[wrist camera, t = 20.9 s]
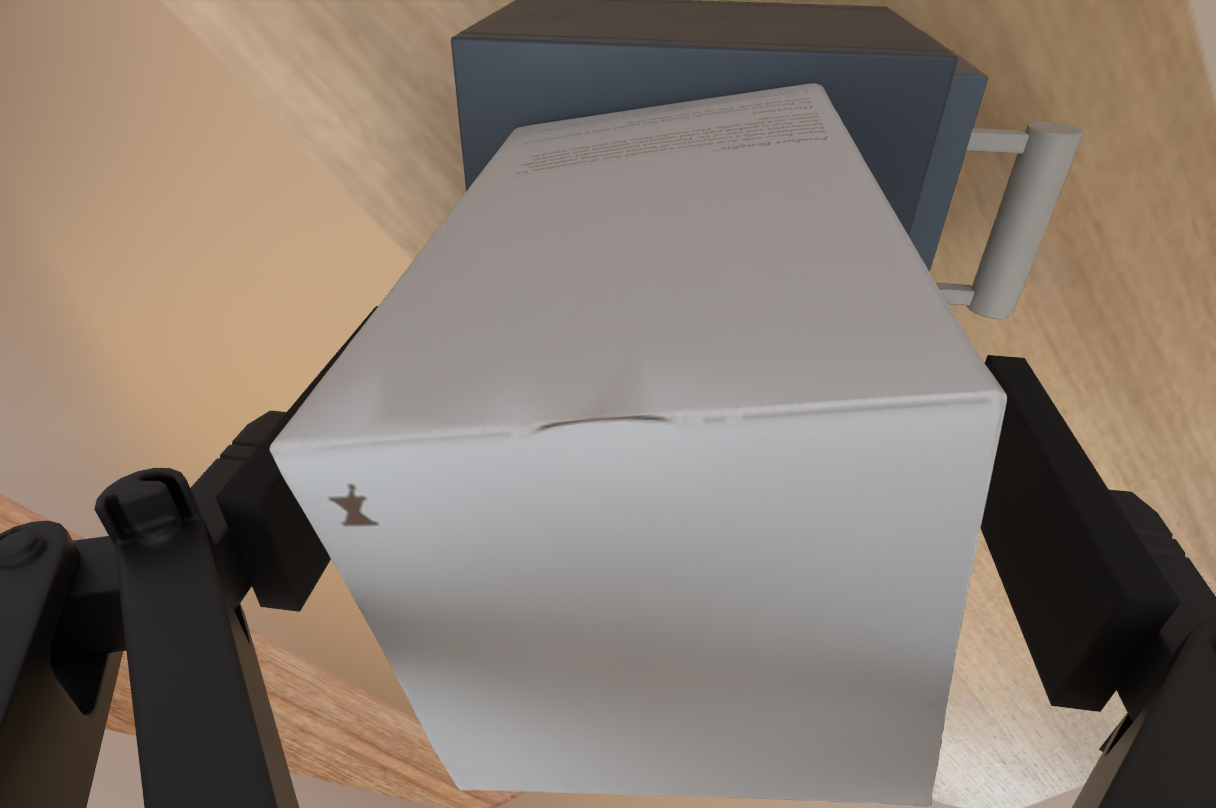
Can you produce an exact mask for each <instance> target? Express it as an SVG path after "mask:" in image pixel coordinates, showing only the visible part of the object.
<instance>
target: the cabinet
mask: <svg viewBox="0 0 1216 808" xmlns="http://www.w3.org/2000/svg"><path fill="white" fill-rule="evenodd" d="M451 46H452V56H453V66H454V75H455V85H456V95H457V105H458V115H459V124H460V134H461V144H462V154H463V164H464V174H465V183H466V192H467V190H468V189H469V188H470V186H471V185H472V184H473V182H474V181H475V180H476V178H477V177H478V176H479V175H480V173H481V172H482V171H483V169H484V168H485V167H486V165H487V164H488V163H489V162H490V160H491V159H492V158H493V157H494V155H495V154H496V153H497V152H498V150H499V149H500V148H501V146H502V145H503V144H504V142H505V141H506V140H507V138H508V137H509V136H510V134H511V133H512V132H513V130H515V129H516V128H519V127H523V126H528V125H535V124H541V123H548V122H554V121H561V120H567V119H574V118H581V117H587V116H594V115H601V114H607V113H614V112H621V111H627V110H634V109H641V108H647V107H654V106H660V105H667V104H674V103H680V102H687V101H694V100H701V99H708V98H715V97H721V96H728V95H735V94H742V93H749V92H756V91H762V90H769V89H776V88H782V87H789V86H796V85H804V84H811V83H816V84H819V85H821V86H822V87H823V88H824V90H825V92H826V93H827V95H828V97H829V99H830V101H831V103H832V105H833V107H834V109H835V110H836V112H837V113H838V115H839V117H840V119H841V121H842V123H843V124H844V126H845V127H846V129H847V131H848V133H849V134H850V136H851V138H852V140H853V141H854V143H855V145H856V146H857V148H858V150H859V152H860V154H861V155H862V157H863V159H864V161H865V163H866V164H867V166H868V168H869V169H870V171H871V173H872V174H873V176H874V178H875V180H876V181H877V183H878V185H879V186H880V188H881V190H882V192H883V194H884V195H885V197H886V199H887V200H888V202H889V204H890V205H891V207H892V209H893V211H894V212H895V214H896V216H897V217H898V219H899V221H900V222H901V224H902V226H903V227H904V229H905V231H906V233H907V234H908V236H909V235H910V232H911V228H912V224H913V221H914V217H915V214H916V210H917V206H918V203H919V199H920V195H921V192H922V188H923V184H924V181H925V177H926V174H927V170H928V166H929V163H930V159H931V155H932V152H933V148H934V145H935V141H936V137H937V134H938V130H939V126H940V123H941V119H942V115H943V112H944V108H945V105H946V101H947V97H948V94H949V90H950V86H951V83H952V79H953V76H954V72H955V68H956V65H957V61H958V58H957V56H955V55H954V54H952V53H951V52H950V51H949V50H947V49H946V48H945V47H943V46H942V45H940V44H939V43H937V42H936V41H935V40H933V39H932V38H930V37H929V36H927V35H926V34H925V33H923V32H922V31H920V30H919V29H917V28H916V27H915V26H913V25H912V24H910V23H909V22H907V21H906V20H905V19H903V18H902V17H900V16H899V15H897V14H896V13H895V12H893V11H892V10H890V9H889V8H887V7H873V6H842V5H812V4H781V3H750V2H720V1H689V0H516V1H514V2H512V3H510V4H509V5H507V6H505V7H503V8H502V9H500V10H498V11H496V12H495V13H493V14H491V15H489V16H488V17H486V18H484V19H482V20H481V21H479V22H477V23H475V24H474V25H472V26H470V27H468V28H467V29H465V30H463V31H462V32H460V33H459V34H457V35H455V36H454V37H452V38H451Z"/></svg>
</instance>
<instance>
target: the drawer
mask: <svg viewBox="0 0 1216 808" xmlns="http://www.w3.org/2000/svg"><path fill="white" fill-rule="evenodd" d="M920 31H922V30H920ZM922 32H923V31H922ZM923 33H925V32H923ZM925 34H926V33H925ZM926 35H927V36H929V35H928V34H926ZM929 37H930V38H932V37H931V36H929ZM932 39H933V38H932ZM933 40H935V39H933ZM935 41H936V40H935ZM936 42H937V43H939V42H938V41H936ZM939 44H940V45H942V44H941V43H939ZM942 46H943V45H942ZM943 47H945V46H943ZM945 48H946V47H945ZM946 49H947V50H949V49H948V48H946ZM949 51H950V52H951V53H952V54H954V55H955V56H957V58H958V61H957V65H956V68H955V72H954V76H953V79H952V83H951V86H950V90H949V94H948V97H947V101H946V105H945V108H944V112H943V115H942V119H941V123H940V126H939V130H938V134H937V137H936V141H935V145H934V148H933V152H932V155H931V159H930V163H929V166H928V170H927V174H926V177H925V181H924V184H923V188H922V192H921V195H920V199H919V203H918V206H917V210H916V214H915V217H914V221H913V224H912V228H911V232H910V235H909V238H910V240H911V241H912V243H913V245H914V247H915V248H916V250H917V252H918V253H919V255H920V257H921V259H922V260H923V262H924V264H925V266H926V267H927V269H928V271H929V272H930V269H931V266H932V262H933V259H934V256H935V253H936V249H937V246H938V243H939V239H940V236H941V233H942V229H943V226H944V223H945V219H946V216H947V213H948V210H949V206H950V203H951V200H952V196H953V193H954V190H955V186H956V183H957V180H958V176H959V173H960V170H961V166H962V163H963V160H964V157H965V153H966V151H977V152H998V153H1018V154H1017V157H1016V160H1015V163H1014V166H1013V169H1012V172H1011V175H1010V178H1009V180H1008V183H1007V186H1006V189H1005V192H1004V195H1003V198H1002V201H1001V204H1000V207H999V209H998V212H997V215H996V218H995V221H994V224H993V227H992V230H991V233H990V236H989V239H988V241H987V244H986V247H985V250H984V253H983V256H982V259H981V262H980V265H979V268H978V271H977V273H976V276H975V279H974V282H973V285H972V287H971V286H970V285H960V284H945V283H936V285H937V286H938V288H939V290H940V291H941V293H942V295H943V296H944V298H945V300H946V301H947V303H948V304H952V305H967V307H968V308H969V309H970V310H971V311H972V312H974V313H976V314H978V315H980V316H984V317H987V318H993V319H1004V318H1008V317H1010V316H1011V315H1012V314H1013V312H1014V310H1015V307H1016V305H1017V302H1018V299H1019V297H1020V294H1021V292H1022V289H1023V287H1024V284H1025V281H1026V279H1027V276H1028V274H1029V271H1030V269H1031V266H1032V264H1033V261H1034V258H1035V256H1036V253H1037V251H1038V248H1039V246H1040V243H1041V240H1042V238H1043V235H1044V233H1045V230H1046V228H1047V225H1048V223H1049V220H1050V217H1051V215H1052V212H1053V210H1054V207H1055V205H1056V202H1057V199H1058V197H1059V194H1060V192H1061V189H1062V187H1063V184H1064V182H1065V179H1066V176H1067V174H1068V171H1069V169H1070V166H1071V164H1072V161H1073V159H1074V156H1075V153H1076V151H1077V148H1078V146H1079V143H1080V141H1081V138H1082V135H1083V130H1082V129H1080V128H1078V127H1076V126H1073V125H1070V124H1065V123H1060V122H1051V121H1037V122H1031V123H1029V124H1028V126H1027V128H1026V131H1025V132H1024V131H1023V130H1003V129H981V128H973V127H974V123H975V120H976V117H977V114H978V110H979V107H980V104H981V100H982V97H983V94H984V90H985V87H986V84H987V80H988V76H987V75H985V74H984V73H982V72H981V71H979V70H978V69H977V68H975V67H974V66H972V65H971V64H969V63H968V62H967V61H965V60H964V59H962V58H961V57H959V56H958V55H956V54H955V53H954V52H952V51H951V50H949Z"/></svg>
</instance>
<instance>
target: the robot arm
mask: <svg viewBox="0 0 1216 808" xmlns="http://www.w3.org/2000/svg"><path fill="white" fill-rule="evenodd" d="M377 307H378V306H376V307H375V308H374V309H373V310H372V312H371V313H370V314H369V315H368V316H367V318H366V319H365V320H364V321H363V322H362V324H361V325H360V326H359V327H358V328H357V329H356V331H355V332H354V333H353V334H352V335H351V337H350V338H349V339H348V340H347V342H346V343H345V344H344V345H343V346H342V347H341V348H340V350H339V351H338V352H337V353H336V355H335V356H334V357H333V358H332V359H331V360H330V362H329V363H328V364H327V365H326V366H325V368H324V369H323V370H322V371H321V372H320V373H319V374H318V376H317V377H316V378H315V379H314V380H313V382H312V383H311V384H310V385H309V386H308V388H307V389H306V390H305V391H304V392H303V393H302V395H301V396H300V397H299V398H298V399H297V401H296V402H295V403H294V404H293V405H292V407H291V408H290V409H289V410H288V411H287V412H279V411H269V412H267V413H266V414H264V415H262V416H261V417H259V418H257V419H256V420H254V421H252V422H251V423H249V424H248V425H247V426H246V427H245V428H244V429H243V430H242V431H241V432H240V434H239V435H238V436H237V437H236V438H235V439H234V440H233V442H232V445H229V446H228V447H227V448H226V449H225V450H224V451H223V452H222V453H221V455H220V459H216V460H215V461H214V462H213V463H212V465H211V466H210V467H209V468H208V469H207V470H206V472H204V473H203V475H202V476H201V477H200V478H199V479H198V480H197V481H196V482H195V483H194V485H193V486H192V487H191V488H190V487H189V484H188V482H187V480H186V478H185V477H184V476H183V474H182V473H181V472H179V471H176V470H173V469H171V468H152V469H148V470H142V471H138V472H135V473H132V474H130V475H128V476H125V477H123V478H120V479H119V480H117V481H116V482H114V483H113V484H111V485H110V486H109V487H107V488H106V489H105V490H104V491H103V493H102V494H101V495H100V496H99V497H98V498H97V501H96V505H95V511H96V513H97V515H98V517H99V518H100V520H101V522H102V524H103V526H104V527H105V529H106V531H107V533H108V535H109V536H105V537H99V538H90V539H83V540H75V541H73V540H72V538H71V537H70V535H69V533H68V532H67V530H66V529H65V528H64V527H63V526H62V525H61V524H59V523H55V522H51V521H38V522H30V523H27V524H23V525H20V526H16V527H13V528H11V529H9V530H7V531H5V532H3V533H1V534H0V808H86V807H87V802H88V798H89V794H90V789H91V785H92V781H93V776H94V773H95V768H96V764H97V760H98V756H99V751H100V747H101V743H102V738H103V734H104V730H105V726H106V722H107V718H108V713H109V709H110V705H111V701H112V696H113V692H114V688H115V684H116V679H117V675H118V671H119V667H120V662H121V658H122V654H123V651H126V650H127V659H128V668H129V676H130V685H131V694H132V702H133V711H134V720H135V728H136V737H137V746H138V754H139V763H140V772H141V780H142V789H143V798H144V806H145V808H299V805H298V802H297V798H296V795H295V791H294V788H293V784H292V781H291V777H290V773H289V770H288V766H287V763H286V759H285V756H284V752H283V748H282V745H281V741H280V738H279V734H278V731H277V727H276V724H275V720H274V716H273V713H272V709H271V706H270V702H269V699H268V695H267V692H266V688H265V684H264V681H263V677H262V674H261V670H260V667H259V663H258V660H257V656H256V652H255V649H254V645H253V642H252V638H251V635H250V631H249V628H248V624H247V620H246V617H245V613H244V611H243V609H242V607H241V604H240V603H241V601H242V600H243V598H244V597H245V595H246V594H247V592H248V591H249V589H250V588H251V587H253V589H254V592H255V594H256V597H257V599H258V602H259V604H260V606H261V607H267V608H275V609H283V610H291V611H301V609H302V607H303V606H304V604H305V602H306V600H307V599H308V597H309V595H310V594H311V592H312V590H313V589H314V587H315V585H316V583H317V582H318V580H319V578H320V577H321V575H322V573H323V572H324V570H325V568H326V567H327V565H328V563H329V562H330V560H331V558H330V556H329V554H328V552H327V551H326V549H325V547H324V545H323V544H322V542H321V540H320V538H319V537H318V535H317V533H316V532H315V530H314V528H313V526H312V525H311V523H310V521H309V520H308V518H307V516H306V514H305V513H304V511H303V509H302V508H301V506H300V504H299V503H298V501H297V499H296V498H295V496H294V494H293V493H292V491H291V489H290V488H289V486H288V484H287V483H286V481H285V479H284V478H283V476H282V474H281V472H280V470H279V468H278V466H277V464H276V462H275V460H274V457H273V455H272V453H271V452H270V450H269V449H270V446H271V444H272V443H273V441H274V440H275V439H276V437H277V436H278V435H279V434H280V432H281V431H282V430H283V429H284V427H285V426H286V425H287V424H288V422H289V421H290V420H291V419H292V417H293V416H294V415H295V413H296V412H297V411H298V409H299V408H300V407H301V405H302V404H303V403H304V402H305V400H306V399H307V398H308V396H309V395H310V394H311V392H312V391H313V390H314V388H315V387H316V386H317V384H318V383H319V382H320V381H321V379H322V378H323V377H324V376H325V374H326V373H327V372H328V370H329V369H330V368H331V367H332V365H333V364H334V363H335V362H336V360H337V359H338V358H339V357H340V355H341V354H342V353H343V352H344V350H345V349H346V348H347V346H348V344H349V343H350V342H351V341H352V339H353V338H354V337H355V336H356V334H357V333H358V332H359V331H360V329H361V328H362V327H363V325H364V324H365V323H366V322H367V320H368V319H369V318H370V316H371V315H372V314H373V312H374V311H375V310H376V309H377ZM985 365H986V366H987V368H988V369H989V370H990V372H991V373H992V375H993V376H994V377H995V379H996V380H997V382H998V383H999V385H1000V386H1001V387H1002V389H1003V390H1004V392H1005V393H1006V395H1007V403H1006V408H1005V412H1004V417H1003V422H1002V427H1001V432H1000V436H999V441H998V446H997V451H996V456H995V461H994V465H993V470H992V475H991V480H990V485H989V489H988V494H987V499H986V504H985V508H984V513H983V518H982V523H981V527H980V528H981V530H982V533H983V535H984V538H985V541H986V543H987V546H988V548H989V551H990V553H991V556H992V558H993V561H994V563H995V566H996V568H997V571H998V573H999V576H1000V578H1001V581H1002V583H1003V586H1004V588H1005V591H1006V593H1007V596H1008V598H1009V601H1010V603H1011V606H1012V608H1013V611H1014V613H1015V616H1016V618H1017V621H1018V623H1019V626H1020V628H1021V631H1022V633H1023V636H1024V638H1025V641H1026V643H1027V646H1028V648H1029V651H1030V653H1031V656H1032V658H1033V661H1034V663H1035V666H1036V668H1037V671H1038V673H1039V676H1040V678H1041V681H1042V683H1043V686H1044V688H1045V691H1046V693H1047V696H1048V698H1049V701H1050V704H1051V706H1058V707H1066V708H1074V709H1082V710H1090V711H1098V712H1101V710H1102V709H1103V707H1104V706H1105V705H1106V703H1107V702H1108V701H1109V699H1110V698H1111V697H1112V695H1113V694H1114V693H1115V691H1116V690H1117V692H1118V694H1119V696H1120V698H1121V700H1122V702H1123V704H1124V706H1125V708H1126V710H1127V712H1128V713H1127V714H1126V715H1125V717H1124V718H1123V719H1122V720H1121V722H1120V723H1119V724H1118V726H1117V727H1116V728H1115V729H1114V731H1113V732H1112V733H1111V735H1110V736H1109V737H1108V738H1107V740H1106V741H1105V742H1104V744H1103V745H1102V746H1101V747H1100V749H1099V750H1101V751H1102V752H1103V753H1102V755H1101V757H1100V758H1099V760H1098V762H1097V764H1096V766H1095V767H1094V769H1093V771H1092V773H1091V775H1090V776H1089V778H1088V780H1087V782H1086V783H1085V785H1084V787H1083V789H1082V791H1081V792H1080V795H1079V796H1078V798H1077V800H1076V801H1075V803H1074V805H1073V807H1072V808H1216V597H1215V595H1214V594H1213V592H1212V591H1211V589H1210V588H1209V587H1208V585H1207V584H1206V582H1205V581H1204V579H1203V578H1202V576H1201V575H1200V574H1199V572H1198V571H1197V569H1196V568H1195V566H1194V565H1193V563H1192V562H1191V561H1190V559H1189V558H1186V557H1185V552H1184V550H1183V549H1182V548H1181V546H1180V545H1179V543H1178V542H1177V540H1176V539H1173V538H1172V536H1173V535H1172V533H1171V532H1170V530H1169V529H1168V527H1167V526H1166V525H1165V523H1164V522H1163V520H1162V519H1161V517H1160V516H1159V514H1158V513H1157V512H1156V511H1155V510H1153V509H1152V508H1151V507H1150V506H1148V505H1147V504H1146V503H1145V502H1144V501H1142V500H1141V499H1140V498H1139V497H1137V496H1136V495H1135V494H1134V493H1132V492H1128V491H1117V490H1108V488H1107V486H1106V485H1105V483H1104V482H1103V480H1102V479H1101V477H1100V475H1099V474H1098V472H1097V471H1096V469H1095V468H1094V466H1093V464H1092V463H1091V461H1090V460H1089V458H1088V457H1087V455H1086V454H1085V452H1084V450H1083V449H1082V447H1081V446H1080V444H1079V443H1078V441H1077V439H1076V438H1075V436H1074V435H1073V433H1072V432H1071V430H1070V428H1069V427H1068V425H1067V424H1066V422H1065V421H1064V419H1063V417H1062V416H1061V414H1060V413H1059V411H1058V410H1057V408H1056V407H1055V405H1054V403H1053V402H1052V400H1051V399H1050V397H1049V396H1048V394H1047V392H1046V391H1045V389H1044V388H1043V386H1042V385H1041V383H1040V381H1039V380H1038V378H1037V377H1036V375H1035V374H1034V372H1033V370H1032V369H1031V367H1030V366H1029V364H1028V363H1027V361H1026V359H1025V358H1018V357H1005V356H993V355H988V356H987V358H986V361H985Z"/></svg>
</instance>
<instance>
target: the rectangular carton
mask: <svg viewBox="0 0 1216 808" xmlns="http://www.w3.org/2000/svg"><path fill="white" fill-rule="evenodd" d="M1006 403H1007V395H1006V393H1005V392H1004V390H1003V389H1002V387H1001V386H1000V385H999V383H998V382H997V380H996V379H995V377H994V376H993V375H992V373H991V372H990V370H989V369H988V368H987V366H986V365H985V364H984V362H983V361H982V359H981V357H980V355H979V353H978V351H977V350H976V349H975V347H974V346H973V344H972V343H971V341H970V339H969V338H968V336H967V334H966V333H965V331H964V329H963V328H962V326H961V324H960V323H959V321H958V320H957V318H956V316H955V315H954V313H953V311H952V310H951V308H950V306H949V305H948V303H947V301H946V300H945V298H944V296H943V295H942V293H941V291H940V290H939V288H938V286H937V285H936V283H935V281H934V280H933V278H932V276H931V274H930V273H929V271H928V269H927V267H926V266H925V264H924V262H923V260H922V259H921V257H920V255H919V253H918V252H917V250H916V248H915V247H914V245H913V243H912V241H911V240H910V238H909V236H908V234H907V233H906V231H905V229H904V227H903V226H902V224H901V222H900V221H899V219H898V217H897V216H896V214H895V212H894V211H893V209H892V207H891V205H890V204H889V202H888V200H887V199H886V197H885V195H884V194H883V192H882V190H881V188H880V186H879V185H878V183H877V181H876V180H875V178H874V176H873V174H872V173H871V171H870V169H869V168H868V166H867V164H866V163H865V161H864V159H863V157H862V155H861V154H860V152H859V150H858V148H857V146H856V145H855V143H854V141H853V140H852V138H851V136H850V134H849V133H848V131H847V129H846V127H845V126H844V124H843V123H842V121H841V119H840V117H839V115H838V113H837V112H836V110H835V109H834V107H833V105H832V103H831V101H830V99H829V97H828V95H827V93H826V92H825V90H824V88H823V87H822V86H821V85H819V84H816V83H811V84H804V85H796V86H789V87H782V88H776V89H769V90H762V91H756V92H749V93H742V94H735V95H728V96H721V97H715V98H708V99H701V100H694V101H687V102H680V103H674V104H667V105H660V106H654V107H647V108H641V109H634V110H627V111H621V112H614V113H607V114H601V115H594V116H587V117H581V118H574V119H567V120H561V121H554V122H548V123H541V124H535V125H528V126H523V127H519V128H516V129H515V130H513V132H512V133H511V134H510V136H509V137H508V138H507V140H506V141H505V142H504V144H503V145H502V146H501V148H500V149H499V150H498V152H497V153H496V154H495V155H494V157H493V158H492V159H491V160H490V162H489V163H488V164H487V165H486V167H485V168H484V169H483V171H482V172H481V173H480V175H479V176H478V177H477V178H476V180H475V181H474V182H473V184H472V185H471V186H470V188H469V189H468V190H467V192H466V193H465V194H464V195H463V197H462V198H461V199H460V200H459V202H458V203H457V204H456V206H455V207H454V209H453V210H452V211H451V212H450V214H449V215H448V216H447V217H446V219H445V220H444V222H443V223H442V224H441V225H440V227H439V228H438V229H437V231H436V232H435V233H434V235H433V236H432V237H431V238H430V240H429V241H428V242H427V244H426V245H425V246H424V248H423V249H422V250H421V252H420V253H419V254H418V255H417V257H416V258H415V259H414V261H413V262H412V263H411V264H410V266H409V267H408V268H407V270H406V271H405V272H404V274H403V275H402V276H401V278H400V279H399V280H398V282H397V283H396V284H395V285H394V287H393V288H392V289H391V290H390V292H389V293H388V295H387V296H386V297H385V298H384V300H383V301H382V302H381V303H380V305H379V306H378V307H377V309H376V310H375V311H374V312H373V314H372V315H371V316H370V318H369V319H368V320H367V322H366V323H365V324H364V325H363V327H362V328H361V329H360V331H359V332H358V333H357V334H356V336H355V337H354V338H353V339H352V341H351V342H350V343H349V344H348V346H347V348H346V349H345V350H344V352H343V353H342V354H341V355H340V357H339V358H338V359H337V360H336V362H335V363H334V364H333V365H332V367H331V368H330V369H329V370H328V372H327V373H326V374H325V376H324V377H323V378H322V379H321V381H320V382H319V383H318V384H317V386H316V387H315V388H314V390H313V391H312V392H311V394H310V395H309V396H308V398H307V399H306V400H305V402H304V403H303V404H302V405H301V407H300V408H299V409H298V411H297V412H296V413H295V415H294V416H293V417H292V419H291V420H290V421H289V422H288V424H287V425H286V426H285V427H284V429H283V430H282V431H281V432H280V434H279V435H278V436H277V437H276V439H275V440H274V441H273V443H272V444H271V446H270V449H269V450H270V452H271V453H272V455H273V457H274V460H275V462H276V464H277V466H278V468H279V470H280V472H281V474H282V476H283V478H284V479H285V481H286V483H287V484H288V486H289V488H290V489H291V491H292V493H293V494H294V496H295V498H296V499H297V501H298V503H299V504H300V506H301V508H302V509H303V511H304V513H305V514H306V516H307V518H308V520H309V521H310V523H311V525H312V526H313V528H314V530H315V532H316V533H317V535H318V537H319V538H320V540H321V542H322V544H323V545H324V547H325V549H326V551H327V552H328V554H329V556H330V558H331V559H332V561H333V563H334V565H335V566H336V568H337V570H338V572H339V573H340V575H341V577H342V578H343V580H344V582H345V584H346V586H347V587H348V589H349V591H350V593H351V594H352V596H353V598H354V600H355V602H356V603H357V605H358V607H359V609H360V611H361V612H362V614H363V616H364V618H365V620H366V621H367V623H368V625H369V626H370V628H371V630H372V632H373V634H374V636H375V637H376V639H377V641H378V643H379V645H380V646H381V648H382V650H383V652H384V654H385V656H386V657H387V659H388V661H389V663H390V665H391V667H392V669H393V670H394V672H395V674H396V676H397V678H398V680H399V682H400V684H401V687H402V688H403V690H404V692H405V694H406V696H407V698H408V700H409V702H410V704H411V706H412V708H413V710H414V711H415V713H416V715H417V717H418V719H419V721H420V723H421V725H422V727H423V729H424V731H425V733H426V735H427V737H428V739H429V741H430V743H431V745H432V747H433V749H434V751H435V752H436V754H437V756H438V757H439V759H440V760H441V762H442V764H443V765H444V767H445V769H446V770H447V772H448V773H449V775H450V776H451V777H452V779H453V781H454V782H455V784H456V785H457V787H458V789H460V790H493V791H526V792H528V791H529V792H561V793H590V794H591V793H593V794H620V795H652V796H654V795H655V796H689V797H690V796H692V797H724V798H751V799H752V798H753V799H779V800H803V801H829V802H854V803H883V804H898V805H913V806H931V804H932V791H933V786H934V781H935V776H936V771H937V766H938V760H939V753H940V748H941V743H942V733H943V729H944V721H945V714H946V707H947V701H948V695H949V690H950V685H951V680H952V674H953V667H954V661H955V655H956V649H957V644H958V639H959V634H960V629H961V624H962V619H963V614H964V609H965V603H966V598H967V592H968V587H969V583H970V578H971V573H972V569H973V564H974V558H975V553H976V548H977V542H978V537H979V532H980V527H981V523H982V518H983V513H984V508H985V504H986V499H987V494H988V489H989V485H990V480H991V475H992V470H993V465H994V461H995V456H996V451H997V446H998V441H999V436H1000V432H1001V427H1002V422H1003V417H1004V412H1005V408H1006Z"/></svg>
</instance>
